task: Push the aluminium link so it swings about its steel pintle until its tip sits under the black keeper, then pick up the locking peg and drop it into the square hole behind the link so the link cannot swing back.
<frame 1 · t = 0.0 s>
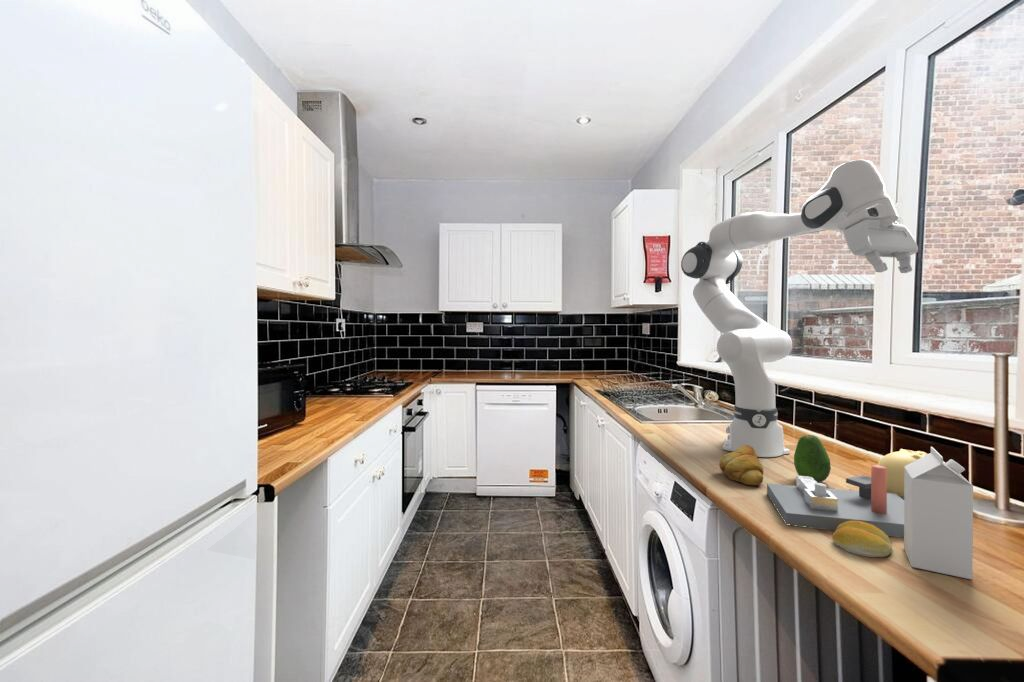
hand: (894, 271, 102), 52 cm above the counter, tool tilted 20°, fingers open, 8 cm apart
peg: (878, 511, 88), point 2 cm above the counter, touching board
avocado: (812, 482, 111), on the counter
board: (843, 514, 92), on the counter
link: (813, 491, 95), point 4 cm above the counter, hinge at 0.0°
sculpture: (910, 497, 101), on the counter
bread roll 2: (742, 480, 115), on the counter
milk carton: (935, 565, 73), on the counter
bread roll: (860, 547, 80), on the counter
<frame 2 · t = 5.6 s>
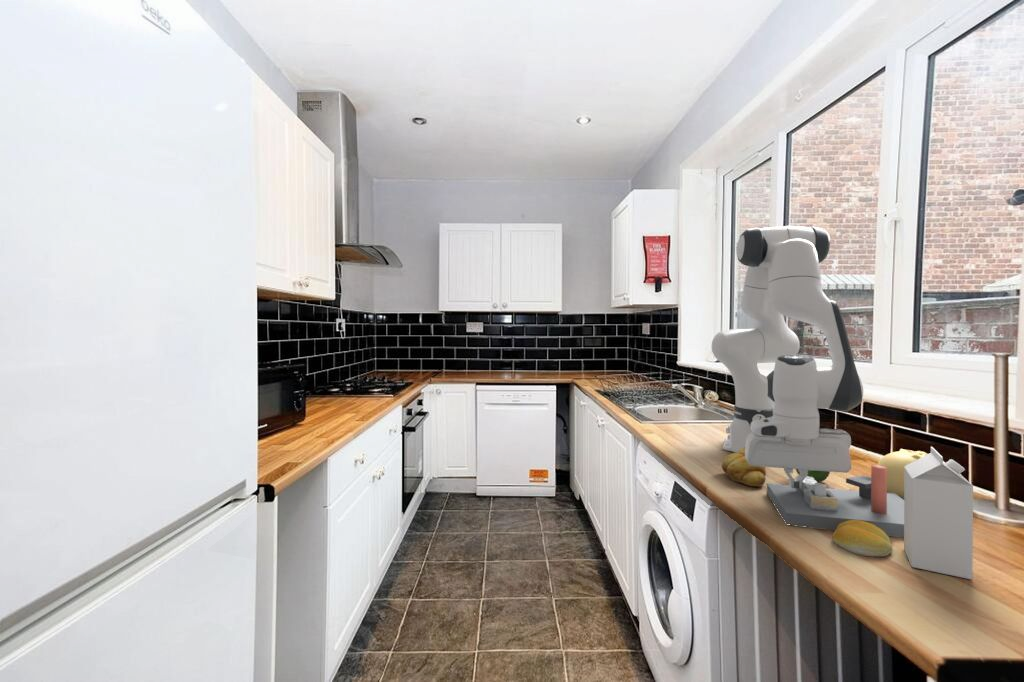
hand: (795, 487, 99), 3 cm above the counter, tool pointing down, fingers closed
link: (813, 492, 95), point 4 cm above the counter, hinge at 0.3°, touching gripper
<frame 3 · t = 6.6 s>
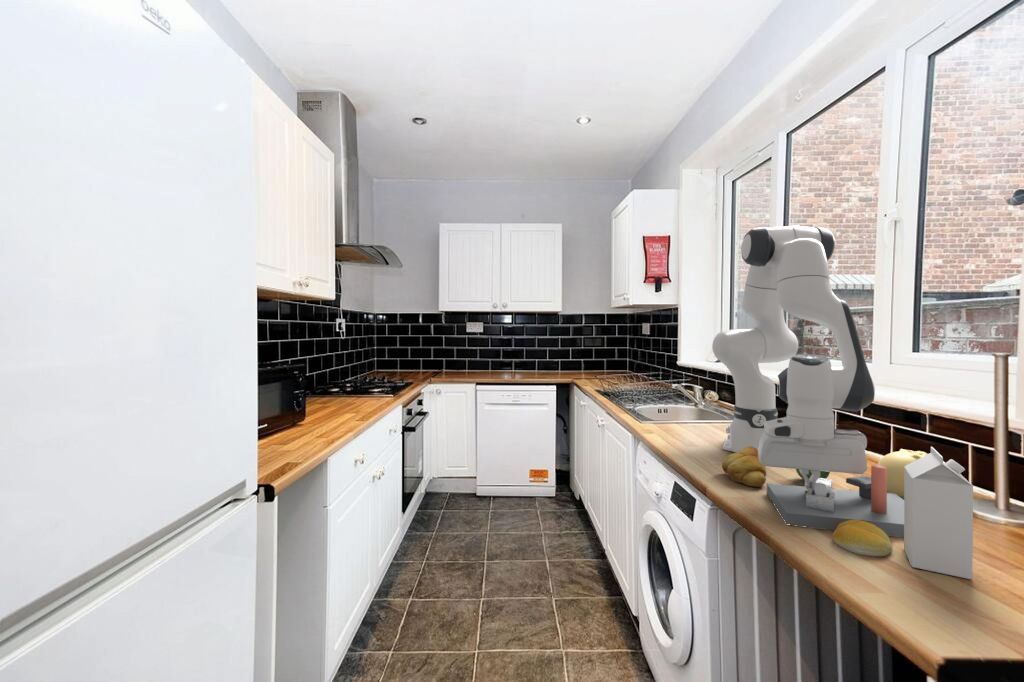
hand: (809, 488, 98), 3 cm above the counter, tool pointing down, fingers closed, pressing on link
link: (821, 493, 94), point 4 cm above the counter, hinge at 19.7°, touching gripper
everything else where it was.
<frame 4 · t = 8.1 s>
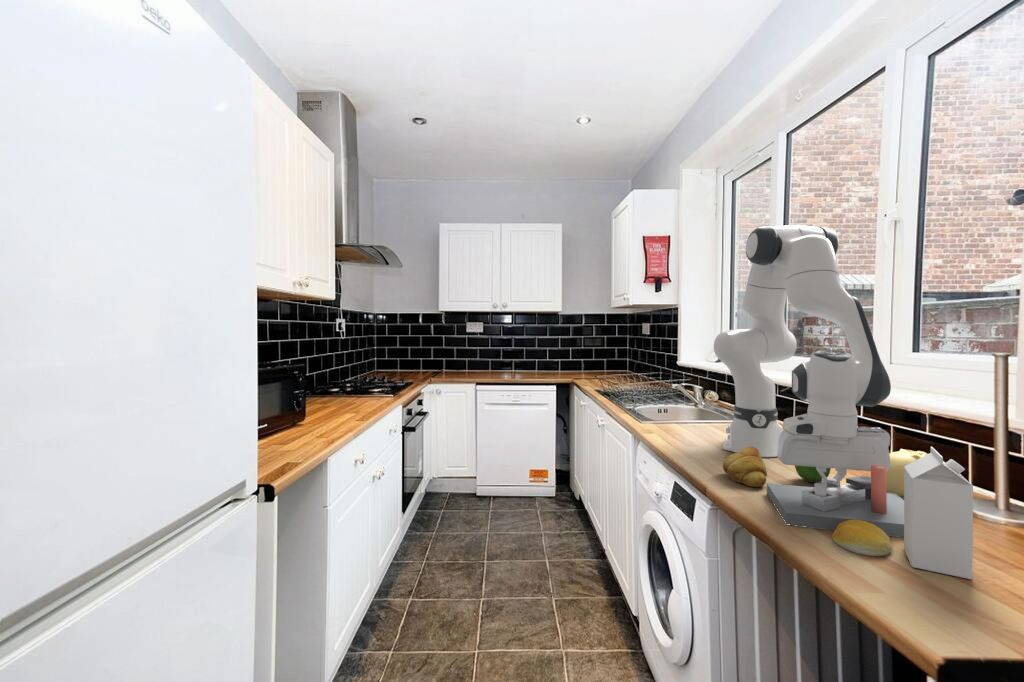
hand: (830, 487, 96), 4 cm above the counter, tool pointing down, fingers closed
link: (835, 496, 92), point 4 cm above the counter, hinge at 53.2°
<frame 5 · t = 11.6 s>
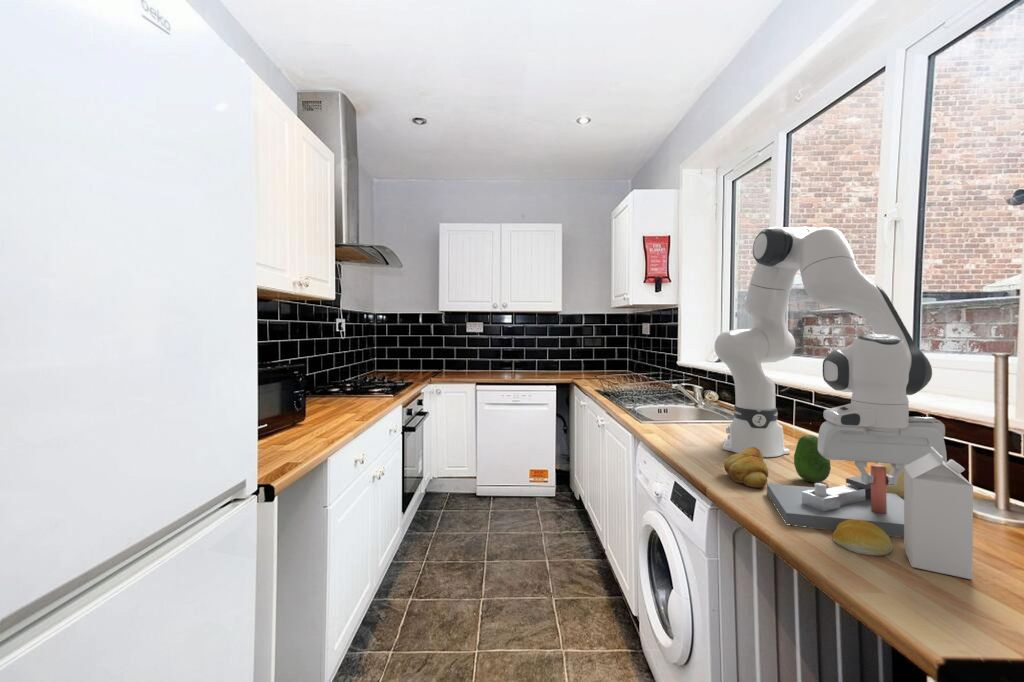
hand: (878, 483, 88), 8 cm above the counter, tool pointing down, fingers closed on peg, 2 cm apart
peg: (878, 511, 88), point 3 cm above the counter, touching board, gripper
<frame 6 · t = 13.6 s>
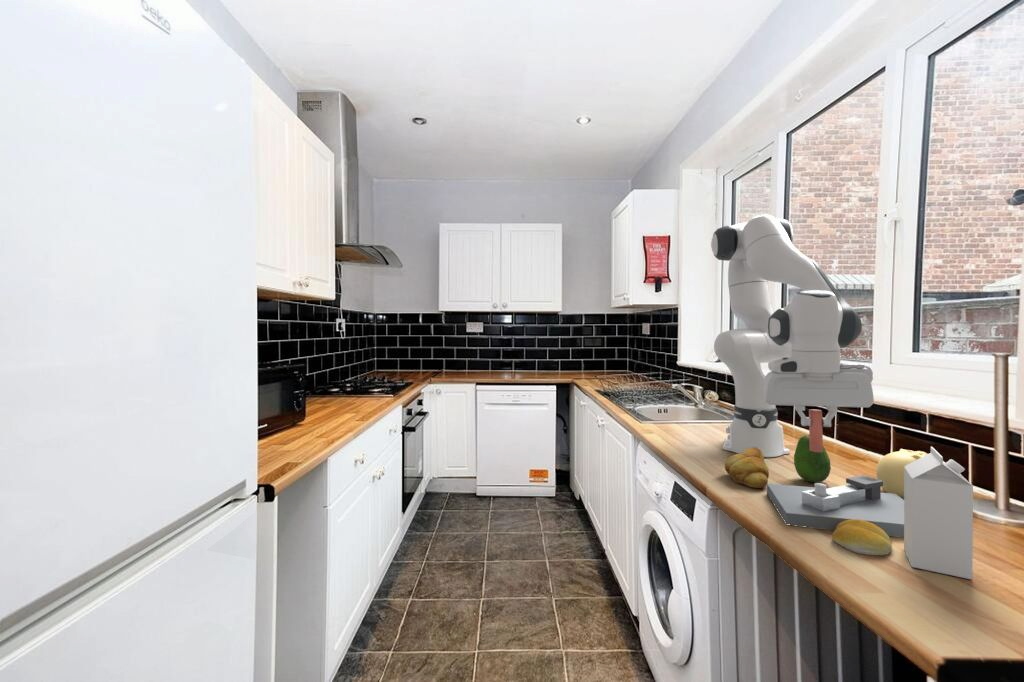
hand: (815, 426, 97), 18 cm above the counter, tool pointing down, fingers closed on peg, 2 cm apart
peg: (816, 450, 97), point 12 cm above the counter, touching gripper
when the fingers open (7 cm above the counter, at t = 15.6 s): peg drops 1 cm, resting in board.
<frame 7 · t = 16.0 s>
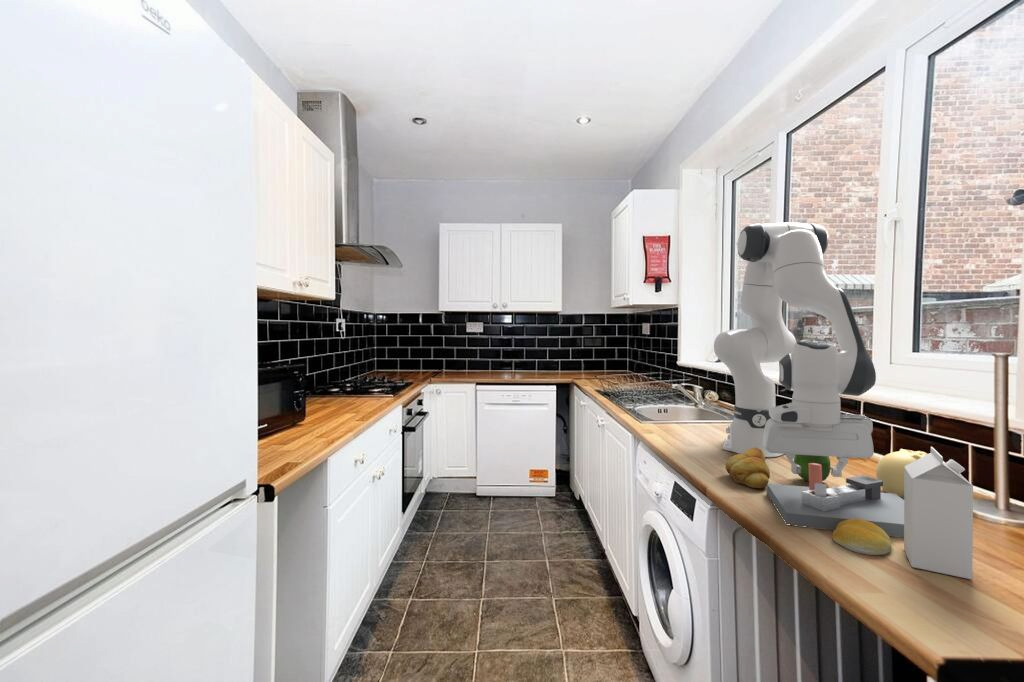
hand: (815, 474, 97), 7 cm above the counter, tool pointing down, fingers open, 6 cm apart
peg: (816, 505, 97), resting in board
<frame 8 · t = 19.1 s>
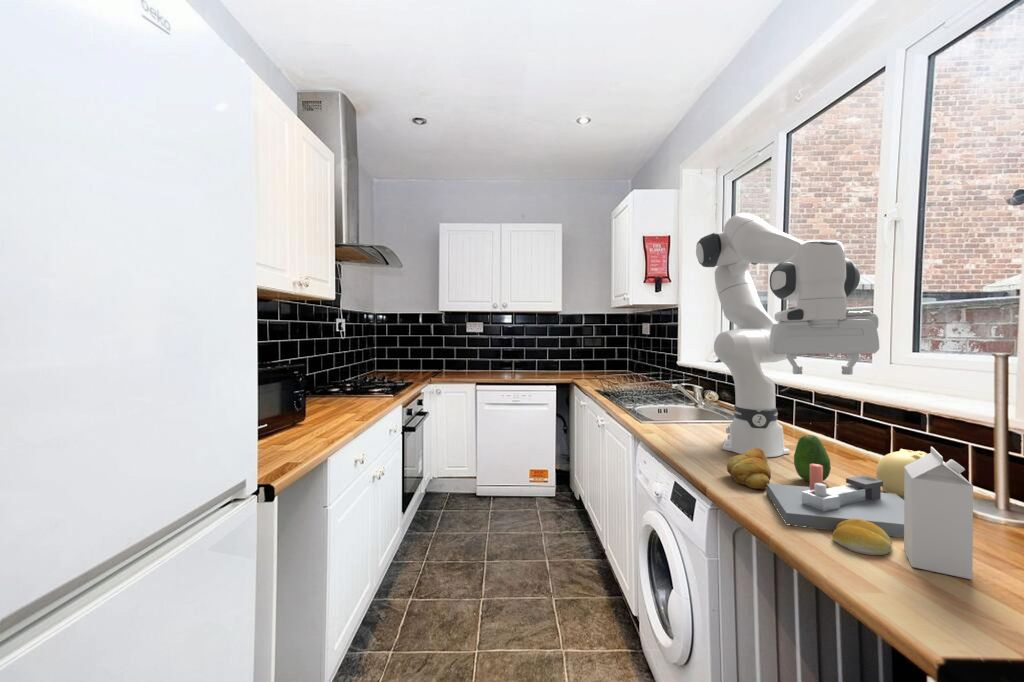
hand: (821, 374, 98), 29 cm above the counter, tool pointing down, fingers open, 8 cm apart
at the end: link at +53° (first picture: +0°); peg 0.0 cm from the target spot on the board, point 0.0 cm above the board's base; peg tilted 0° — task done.
